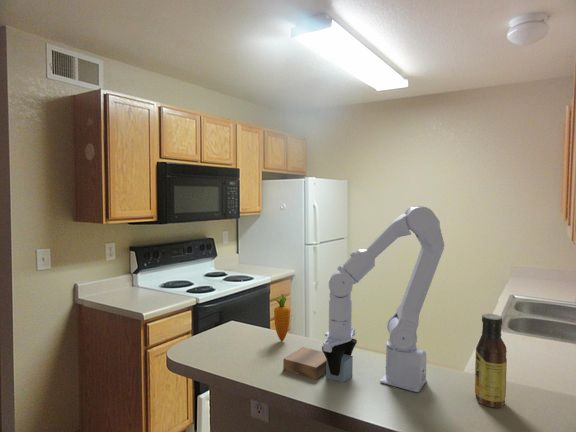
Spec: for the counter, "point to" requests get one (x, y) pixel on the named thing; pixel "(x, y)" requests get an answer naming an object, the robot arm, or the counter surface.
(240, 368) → the counter surface
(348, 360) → the slate-blue cube
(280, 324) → the carrot
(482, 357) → the sauce bottle
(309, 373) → the walnut base
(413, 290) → the robot arm
